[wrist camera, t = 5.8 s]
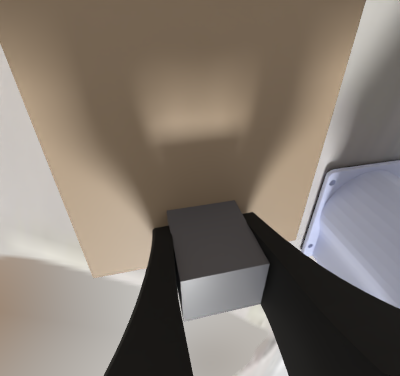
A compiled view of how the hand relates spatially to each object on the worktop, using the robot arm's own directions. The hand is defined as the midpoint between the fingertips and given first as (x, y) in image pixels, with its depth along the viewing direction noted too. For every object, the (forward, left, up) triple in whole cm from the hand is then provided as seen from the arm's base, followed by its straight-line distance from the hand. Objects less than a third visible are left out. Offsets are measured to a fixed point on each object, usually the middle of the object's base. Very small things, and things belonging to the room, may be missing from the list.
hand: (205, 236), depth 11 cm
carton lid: (+5, 0, -1) cm, 5 cm away
